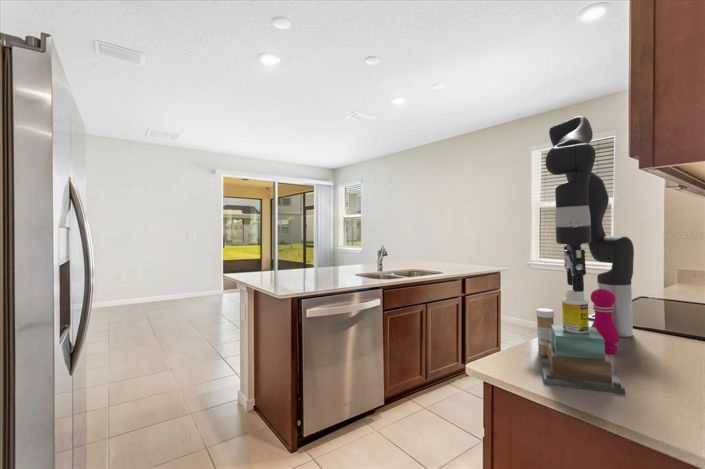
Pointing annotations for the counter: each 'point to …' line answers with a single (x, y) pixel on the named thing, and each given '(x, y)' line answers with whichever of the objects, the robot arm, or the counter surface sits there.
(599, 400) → the counter surface
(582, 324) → the supplement bottle
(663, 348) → the counter surface
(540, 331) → the sprinkles bottle
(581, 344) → the layered slab stack
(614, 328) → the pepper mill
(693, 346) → the counter surface
